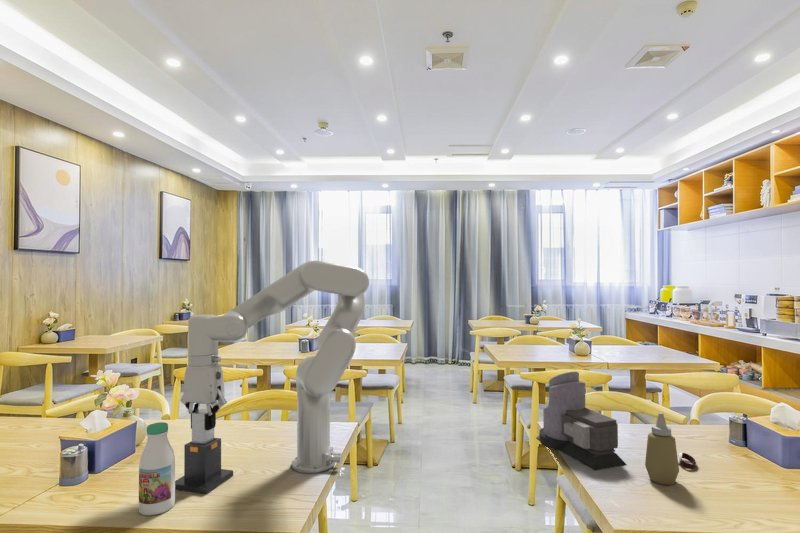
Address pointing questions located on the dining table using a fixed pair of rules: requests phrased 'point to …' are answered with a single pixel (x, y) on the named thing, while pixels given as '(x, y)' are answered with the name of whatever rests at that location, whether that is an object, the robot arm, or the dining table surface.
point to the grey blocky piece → (578, 425)
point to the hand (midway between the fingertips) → (203, 427)
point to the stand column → (201, 428)
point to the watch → (688, 457)
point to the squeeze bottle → (661, 454)
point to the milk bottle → (157, 472)
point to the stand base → (202, 468)
